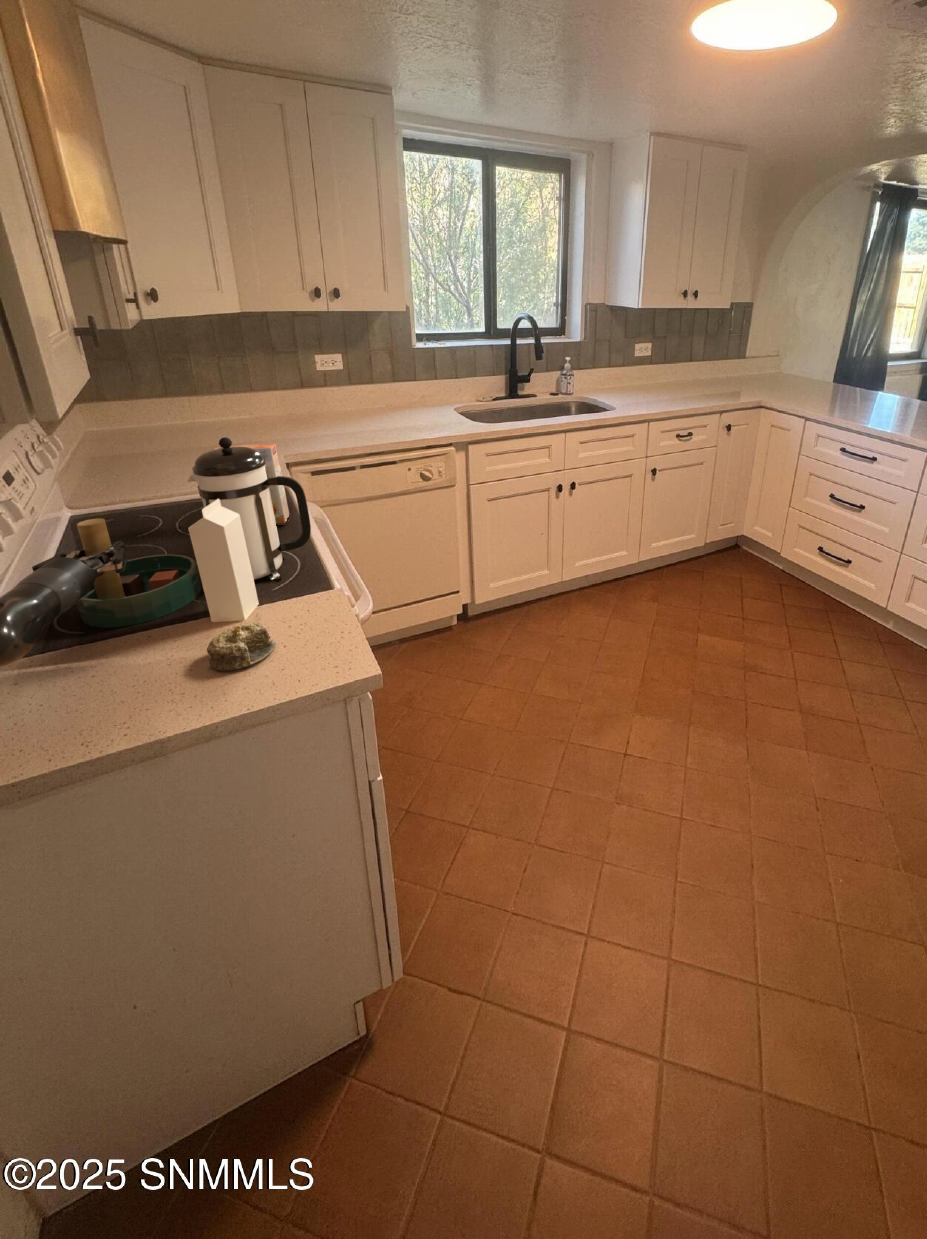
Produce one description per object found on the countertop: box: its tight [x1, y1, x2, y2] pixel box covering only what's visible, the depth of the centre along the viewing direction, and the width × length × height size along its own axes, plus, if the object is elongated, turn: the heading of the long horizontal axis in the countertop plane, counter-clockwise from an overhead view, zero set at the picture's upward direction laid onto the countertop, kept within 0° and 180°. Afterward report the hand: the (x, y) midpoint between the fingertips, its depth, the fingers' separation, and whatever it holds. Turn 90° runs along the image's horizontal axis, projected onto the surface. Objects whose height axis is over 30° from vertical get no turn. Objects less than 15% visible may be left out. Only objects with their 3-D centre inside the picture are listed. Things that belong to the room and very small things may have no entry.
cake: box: [206, 622, 276, 672], centre depth 94 cm, size 10×10×5 cm
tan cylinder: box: [76, 517, 125, 600], centre depth 106 cm, size 4×4×16 cm
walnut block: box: [120, 574, 144, 597], centre depth 112 cm, size 4×4×4 cm
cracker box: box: [213, 442, 290, 523], centre depth 146 cm, size 14×6×21 cm, turn 102°
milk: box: [188, 499, 260, 623], centre depth 103 cm, size 6×6×22 cm
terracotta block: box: [148, 570, 180, 590], centre depth 114 cm, size 4×4×4 cm
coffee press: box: [187, 436, 312, 584], centre depth 118 cm, size 17×16×30 cm
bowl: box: [75, 553, 202, 629], centre depth 111 cm, size 19×19×6 cm
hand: (107, 547), depth 108 cm, fingers closed on tan cylinder, 4 cm apart
